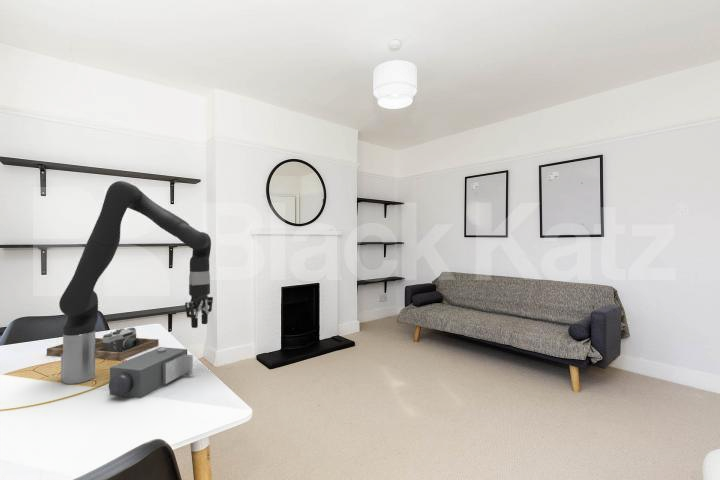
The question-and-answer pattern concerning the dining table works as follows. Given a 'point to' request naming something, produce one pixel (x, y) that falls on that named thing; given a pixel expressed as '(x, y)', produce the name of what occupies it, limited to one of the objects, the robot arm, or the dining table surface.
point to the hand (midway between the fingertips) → (199, 325)
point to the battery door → (177, 367)
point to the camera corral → (144, 346)
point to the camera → (120, 340)
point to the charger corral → (59, 349)
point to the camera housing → (141, 373)
